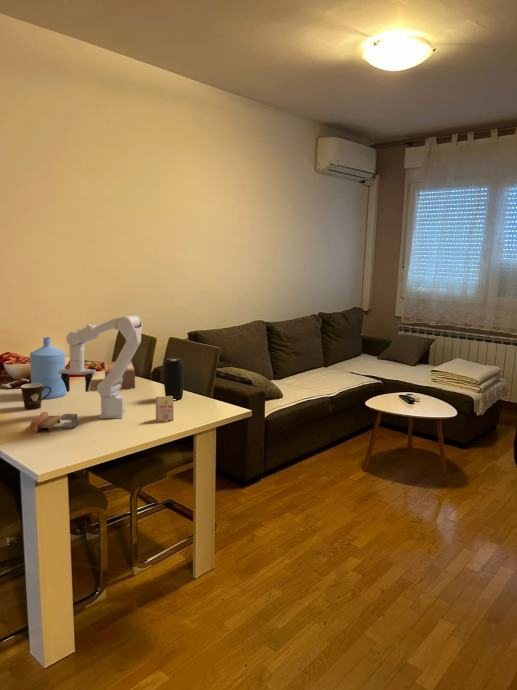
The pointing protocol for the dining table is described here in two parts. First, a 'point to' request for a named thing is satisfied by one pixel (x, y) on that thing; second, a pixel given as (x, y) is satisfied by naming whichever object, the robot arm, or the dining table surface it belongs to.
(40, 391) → the coffee mug
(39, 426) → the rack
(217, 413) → the dining table surface
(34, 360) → the water jug
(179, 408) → the dining table surface
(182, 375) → the portable speaker
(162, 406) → the small printed carton
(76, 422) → the open storage bin
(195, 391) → the dining table surface
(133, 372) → the tissue box cover
